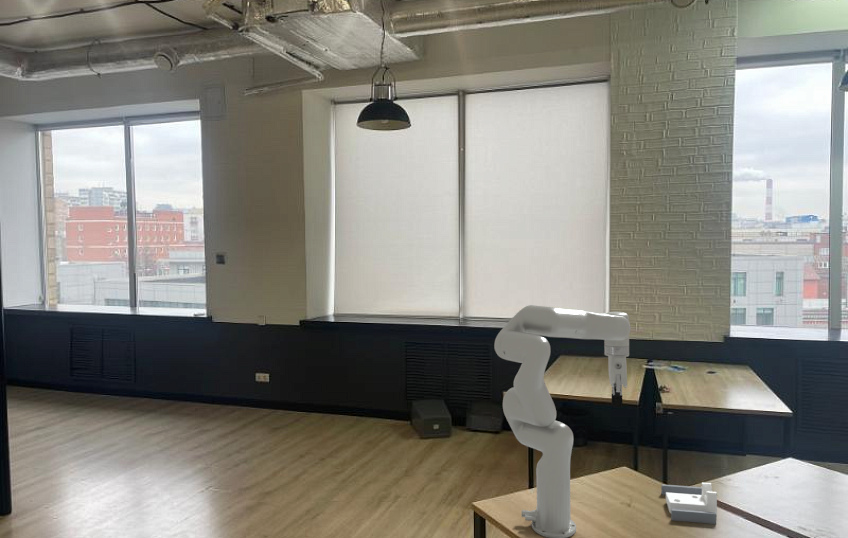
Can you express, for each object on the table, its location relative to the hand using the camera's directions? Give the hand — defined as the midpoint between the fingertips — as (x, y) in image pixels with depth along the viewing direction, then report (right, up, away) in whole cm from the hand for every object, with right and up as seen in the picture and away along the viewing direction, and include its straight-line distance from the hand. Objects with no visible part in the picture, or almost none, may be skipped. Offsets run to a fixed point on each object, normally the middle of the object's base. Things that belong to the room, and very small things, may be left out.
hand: (616, 406), depth 185 cm
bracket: (+19, -30, -10) cm, 37 cm away
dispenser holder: (+20, -29, -9) cm, 36 cm away
